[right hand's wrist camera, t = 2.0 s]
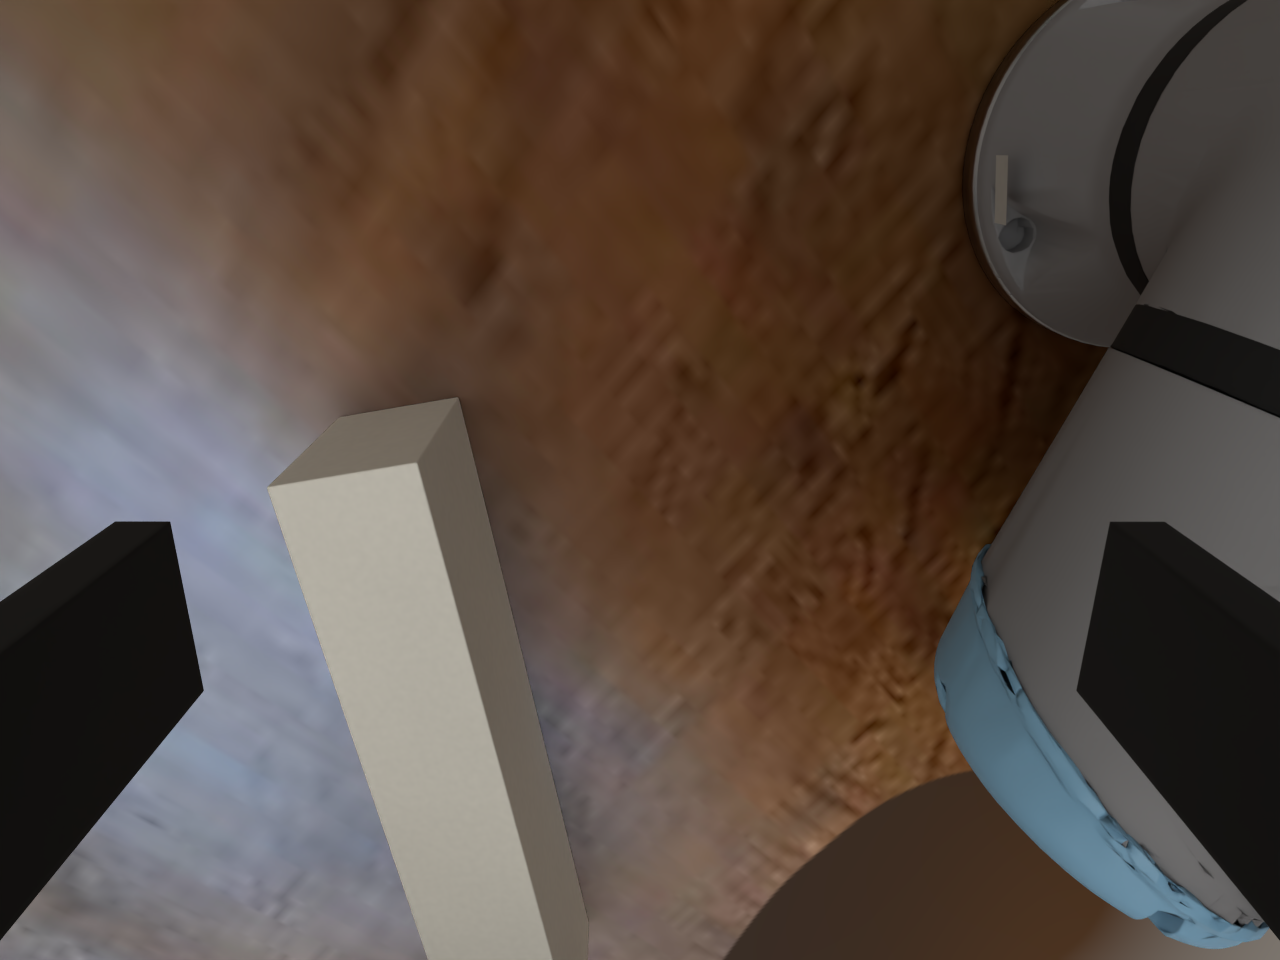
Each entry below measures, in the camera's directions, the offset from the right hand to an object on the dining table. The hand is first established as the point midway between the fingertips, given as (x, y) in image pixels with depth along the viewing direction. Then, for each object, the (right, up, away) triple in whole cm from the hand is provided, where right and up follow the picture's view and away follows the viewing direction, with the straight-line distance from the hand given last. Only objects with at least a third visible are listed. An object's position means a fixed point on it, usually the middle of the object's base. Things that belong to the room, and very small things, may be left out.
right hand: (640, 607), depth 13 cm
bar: (-8, -10, +34) cm, 36 cm away
